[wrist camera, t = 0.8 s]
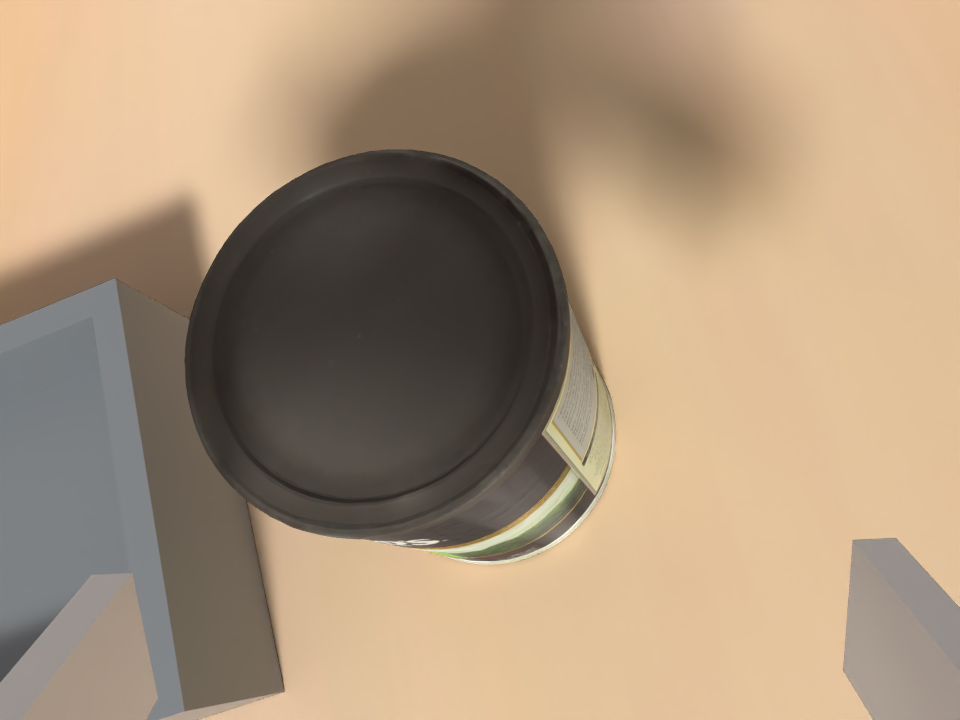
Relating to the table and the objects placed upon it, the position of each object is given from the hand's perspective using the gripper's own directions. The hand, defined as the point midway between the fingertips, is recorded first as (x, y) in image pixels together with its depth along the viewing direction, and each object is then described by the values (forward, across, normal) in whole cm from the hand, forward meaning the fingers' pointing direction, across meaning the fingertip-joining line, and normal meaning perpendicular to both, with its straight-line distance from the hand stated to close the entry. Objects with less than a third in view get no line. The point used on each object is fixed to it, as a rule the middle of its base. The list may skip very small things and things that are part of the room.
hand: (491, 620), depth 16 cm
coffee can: (+19, 0, -4) cm, 19 cm away
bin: (+20, -20, -9) cm, 29 cm away
